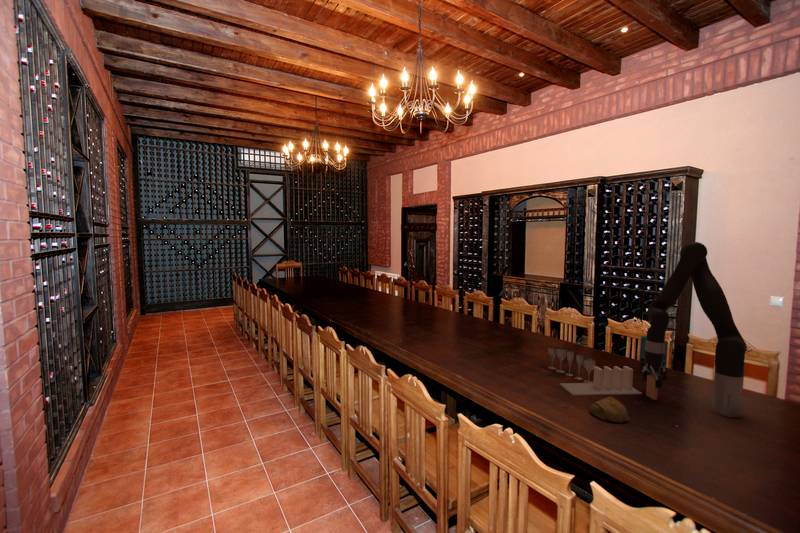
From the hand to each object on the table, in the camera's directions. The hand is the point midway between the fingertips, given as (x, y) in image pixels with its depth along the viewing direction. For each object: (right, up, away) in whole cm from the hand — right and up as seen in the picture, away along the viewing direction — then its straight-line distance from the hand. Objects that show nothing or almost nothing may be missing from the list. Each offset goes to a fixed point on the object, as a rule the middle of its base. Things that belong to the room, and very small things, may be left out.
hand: (651, 383), depth 175 cm
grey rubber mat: (-20, -5, +9) cm, 22 cm away
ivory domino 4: (-6, -5, +10) cm, 12 cm away
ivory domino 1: (-21, -5, +9) cm, 23 cm away
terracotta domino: (0, -6, 0) cm, 6 cm away
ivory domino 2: (-16, -5, +9) cm, 19 cm away
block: (+19, -4, +28) cm, 34 cm away
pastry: (-30, -8, -18) cm, 36 cm away
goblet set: (-26, -4, +27) cm, 38 cm away
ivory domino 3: (-11, -5, +9) cm, 15 cm away
